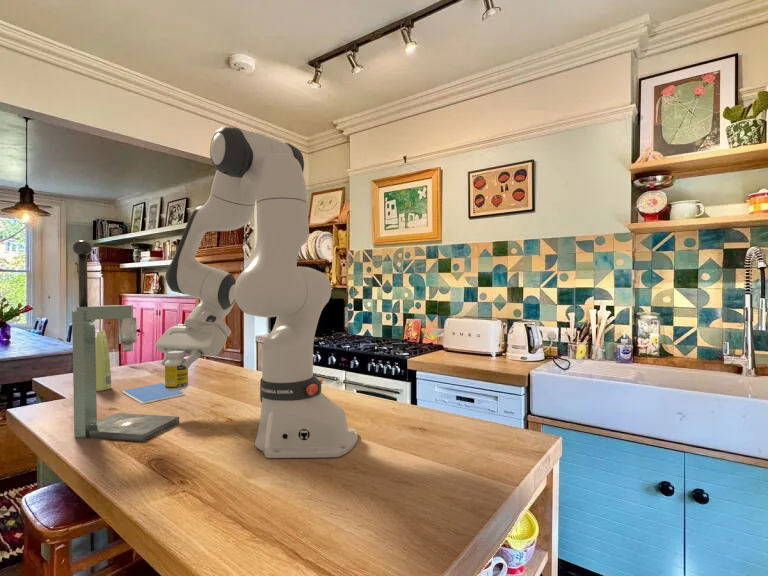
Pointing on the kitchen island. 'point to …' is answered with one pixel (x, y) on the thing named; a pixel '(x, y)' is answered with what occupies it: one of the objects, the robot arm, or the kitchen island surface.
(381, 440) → the kitchen island surface
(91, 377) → the press
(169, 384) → the supplement bottle
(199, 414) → the kitchen island surface
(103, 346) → the tube
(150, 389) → the tablet computer
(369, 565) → the kitchen island surface
